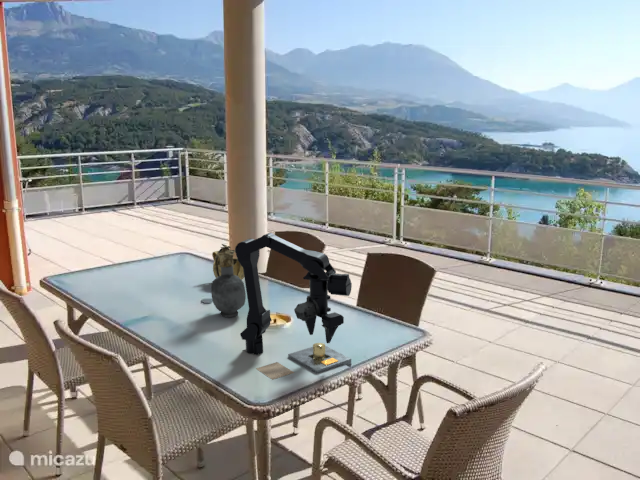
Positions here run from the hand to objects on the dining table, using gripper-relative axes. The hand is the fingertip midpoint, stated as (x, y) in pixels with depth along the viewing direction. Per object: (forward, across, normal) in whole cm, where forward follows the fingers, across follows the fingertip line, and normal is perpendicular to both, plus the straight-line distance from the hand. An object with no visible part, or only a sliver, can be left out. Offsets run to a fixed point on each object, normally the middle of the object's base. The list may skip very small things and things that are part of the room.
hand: (319, 338), depth 178 cm
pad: (+8, -2, -16) cm, 18 cm away
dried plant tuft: (+8, -104, +22) cm, 107 cm away
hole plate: (+8, 0, 0) cm, 8 cm away
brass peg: (+8, 0, 0) cm, 8 cm away
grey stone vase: (+8, -63, -1) cm, 64 cm away
